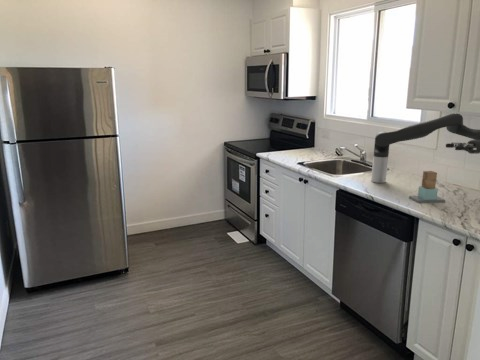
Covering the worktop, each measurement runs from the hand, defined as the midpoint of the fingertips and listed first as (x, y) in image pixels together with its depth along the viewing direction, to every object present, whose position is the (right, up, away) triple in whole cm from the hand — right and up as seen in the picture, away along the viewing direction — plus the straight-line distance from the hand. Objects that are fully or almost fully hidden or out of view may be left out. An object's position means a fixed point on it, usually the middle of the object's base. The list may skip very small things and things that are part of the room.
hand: (450, 146), depth 214 cm
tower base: (-11, -30, +6) cm, 32 cm away
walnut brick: (-11, -23, +4) cm, 25 cm away
